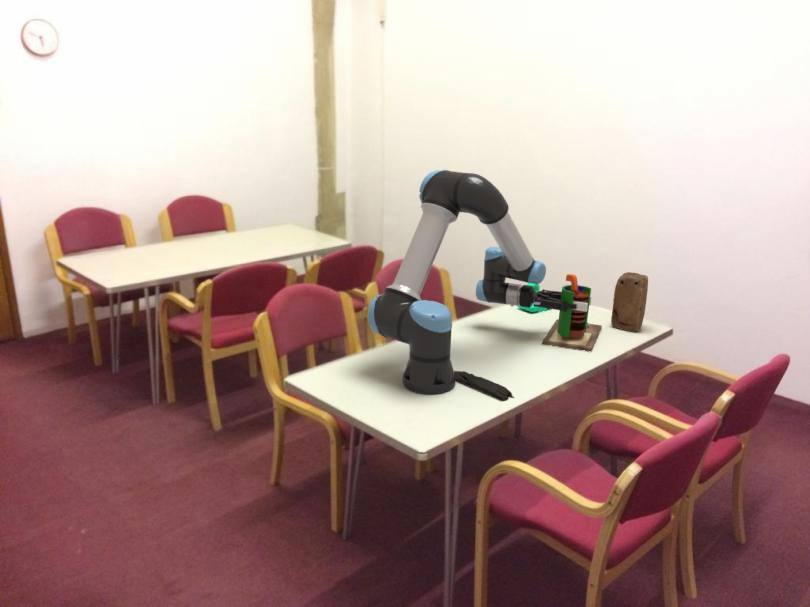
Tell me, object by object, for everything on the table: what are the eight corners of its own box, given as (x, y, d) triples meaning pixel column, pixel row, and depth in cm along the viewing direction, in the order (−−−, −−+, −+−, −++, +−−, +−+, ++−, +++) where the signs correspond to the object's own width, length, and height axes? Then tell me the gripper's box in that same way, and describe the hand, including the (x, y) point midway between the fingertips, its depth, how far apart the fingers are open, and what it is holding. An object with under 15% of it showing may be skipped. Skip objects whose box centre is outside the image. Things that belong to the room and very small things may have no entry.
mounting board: (542, 344, 226) (542, 335, 225) (556, 322, 248) (557, 313, 247) (591, 351, 220) (591, 342, 219) (601, 328, 242) (602, 320, 241)
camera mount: (532, 314, 256) (533, 288, 253) (517, 309, 262) (519, 284, 259) (553, 309, 263) (555, 284, 260) (538, 304, 269) (540, 279, 266)
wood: (521, 396, 188) (521, 386, 187) (503, 403, 183) (504, 393, 182) (462, 372, 203) (463, 363, 203) (445, 378, 199) (445, 369, 198)
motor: (577, 340, 222) (583, 281, 216) (552, 334, 227) (557, 276, 221) (589, 332, 230) (595, 275, 224) (564, 326, 235) (570, 270, 229)
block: (644, 328, 242) (651, 274, 236) (637, 334, 237) (644, 279, 231) (615, 322, 249) (621, 269, 243) (607, 327, 243) (613, 273, 237)
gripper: (526, 298, 242) (592, 306, 233) (512, 314, 224) (583, 323, 216) (528, 278, 239) (594, 286, 231) (514, 292, 222) (585, 301, 213)
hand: (588, 304), depth 223 cm, fingers closed on motor, 7 cm apart
